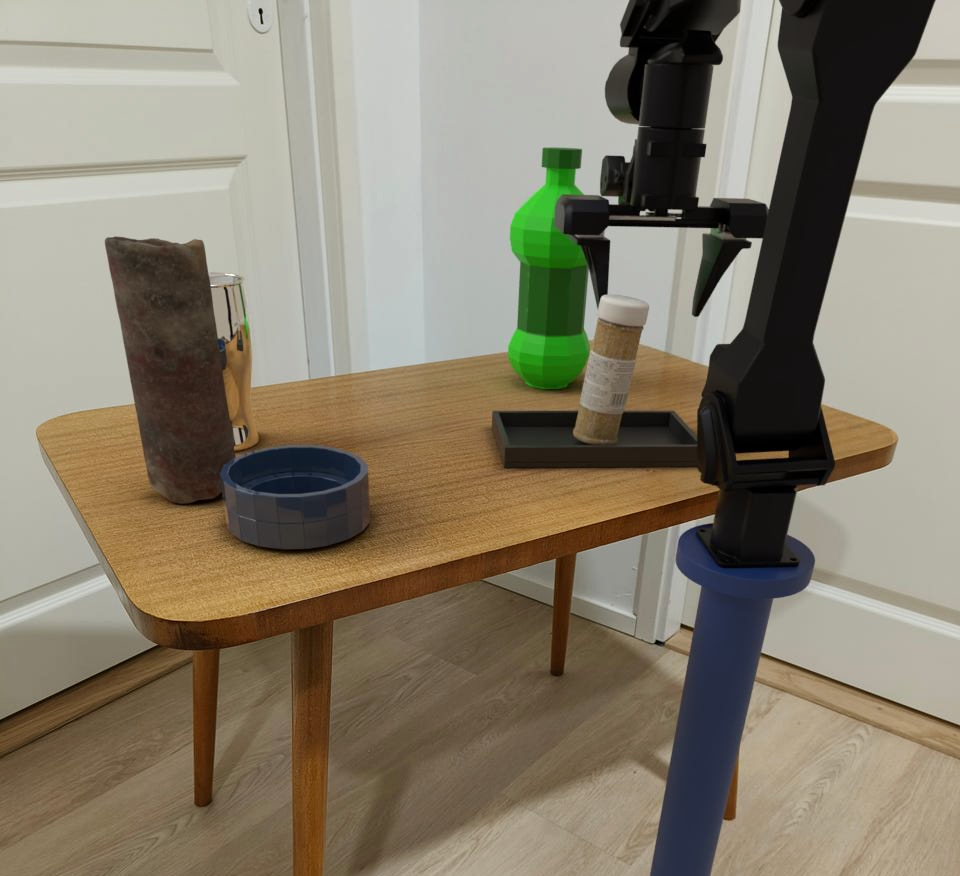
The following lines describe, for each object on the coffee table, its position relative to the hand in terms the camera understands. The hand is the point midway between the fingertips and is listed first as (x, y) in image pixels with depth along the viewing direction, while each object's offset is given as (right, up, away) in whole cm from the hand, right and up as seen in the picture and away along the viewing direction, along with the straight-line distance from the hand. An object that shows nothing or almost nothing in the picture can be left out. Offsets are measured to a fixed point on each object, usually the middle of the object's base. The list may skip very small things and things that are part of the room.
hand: (648, 315), depth 86 cm
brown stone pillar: (-41, -18, -9) cm, 46 cm away
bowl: (-31, -22, -14) cm, 40 cm away
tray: (-5, -12, +3) cm, 13 cm away
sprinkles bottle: (-5, -11, +3) cm, 13 cm away
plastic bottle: (-8, 0, +23) cm, 24 cm away
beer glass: (-41, -12, +2) cm, 43 cm away
